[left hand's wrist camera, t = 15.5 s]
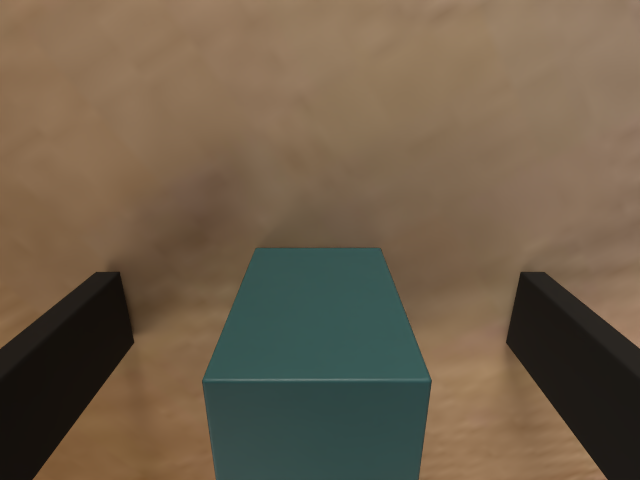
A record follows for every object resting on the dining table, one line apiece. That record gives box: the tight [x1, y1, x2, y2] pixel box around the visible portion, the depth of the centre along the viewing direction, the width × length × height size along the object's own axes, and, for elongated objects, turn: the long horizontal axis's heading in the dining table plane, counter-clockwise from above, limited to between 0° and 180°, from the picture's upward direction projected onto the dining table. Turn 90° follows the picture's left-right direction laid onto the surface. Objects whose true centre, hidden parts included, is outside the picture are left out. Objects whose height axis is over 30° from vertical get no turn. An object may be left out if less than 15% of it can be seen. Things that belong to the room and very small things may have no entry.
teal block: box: [202, 248, 432, 480], centre depth 10 cm, size 4×4×6 cm
